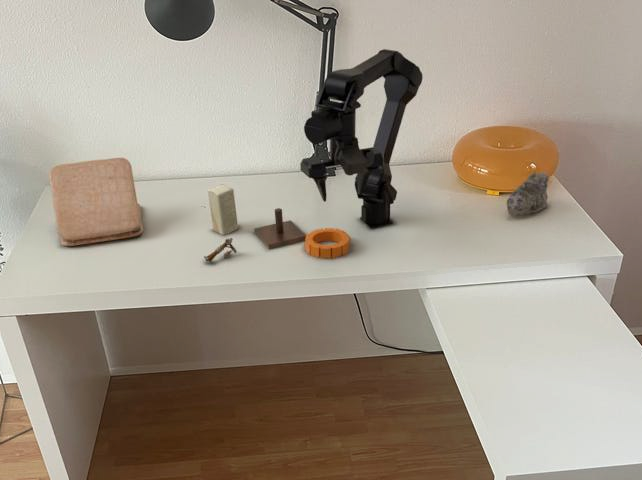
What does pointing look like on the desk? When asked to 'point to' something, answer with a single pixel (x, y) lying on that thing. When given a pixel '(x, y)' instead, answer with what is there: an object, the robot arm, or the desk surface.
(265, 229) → the brown peg stand
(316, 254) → the orange ring
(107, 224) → the case
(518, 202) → the mineral rock
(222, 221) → the box
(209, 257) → the wooden post with brackets
